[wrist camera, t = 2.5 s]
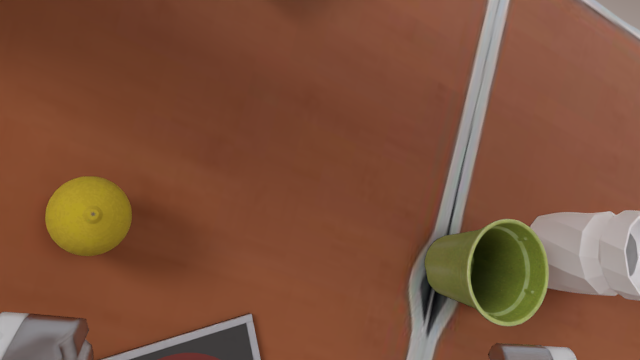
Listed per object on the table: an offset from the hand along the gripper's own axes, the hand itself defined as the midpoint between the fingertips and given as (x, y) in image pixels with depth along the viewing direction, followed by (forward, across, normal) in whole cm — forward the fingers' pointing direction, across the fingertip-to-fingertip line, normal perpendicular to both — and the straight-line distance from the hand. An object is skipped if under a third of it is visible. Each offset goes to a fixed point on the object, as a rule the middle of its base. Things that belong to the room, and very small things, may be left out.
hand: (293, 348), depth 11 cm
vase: (+39, -31, +30) cm, 58 cm away
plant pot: (+34, -17, +28) cm, 47 cm away
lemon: (+26, +15, +19) cm, 35 cm away
